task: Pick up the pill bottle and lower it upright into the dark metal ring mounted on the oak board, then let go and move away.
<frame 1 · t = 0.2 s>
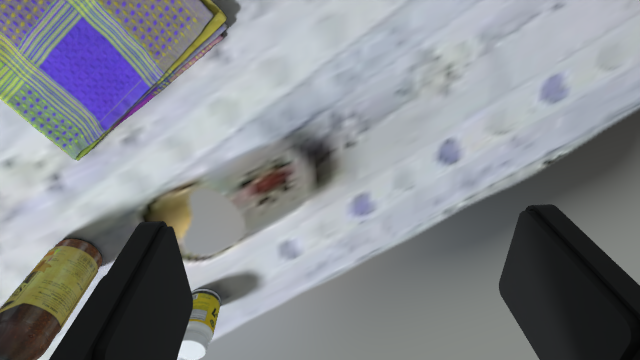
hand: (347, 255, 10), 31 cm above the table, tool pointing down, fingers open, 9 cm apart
dish towel: (84, 27, 36), on the table
supplement bottle: (205, 298, 54), on the table
sauce bottle: (80, 254, 49), on the table
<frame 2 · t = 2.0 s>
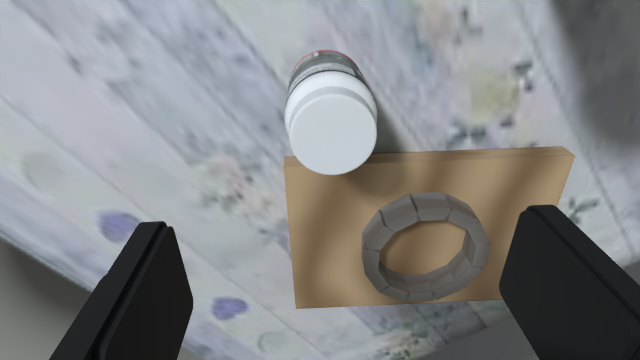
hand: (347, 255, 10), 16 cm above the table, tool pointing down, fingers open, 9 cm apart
ring jig: (414, 229, 30), on the table
pill bottle: (325, 85, 24), on the table
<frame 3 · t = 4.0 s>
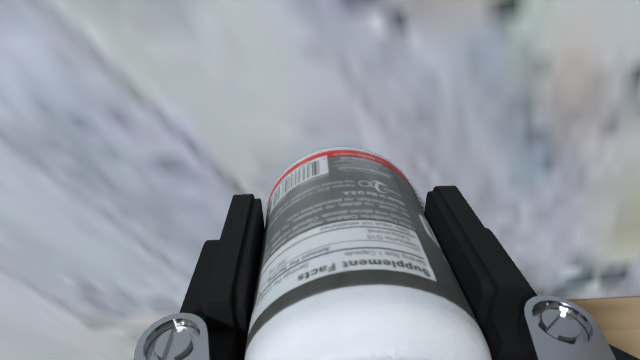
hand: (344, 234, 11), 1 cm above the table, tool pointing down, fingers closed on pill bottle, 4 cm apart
pill bottle: (339, 204, 12), on the table, touching gripper
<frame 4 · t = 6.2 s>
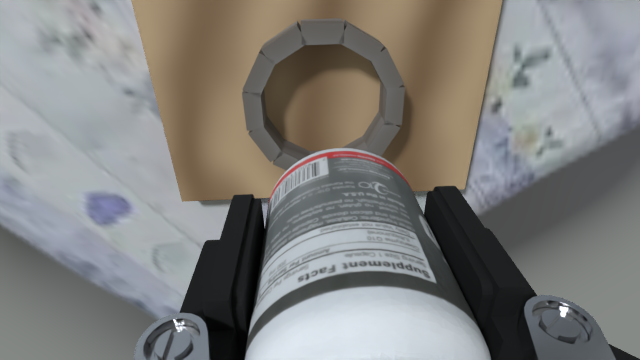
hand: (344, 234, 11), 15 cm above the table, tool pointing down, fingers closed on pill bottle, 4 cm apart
ring jig: (321, 91, 24), on the table
pill bottle: (339, 204, 12), point 13 cm above the table, touching gripper
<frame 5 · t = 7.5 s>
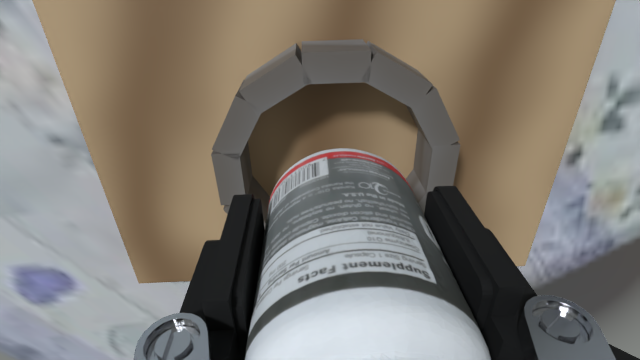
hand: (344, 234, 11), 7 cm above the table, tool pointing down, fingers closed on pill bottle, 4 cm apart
ring jig: (330, 138, 17), on the table
pill bottle: (339, 205, 12), point 5 cm above the table, touching gripper
when the fingers open (4 cm above the table, at t = 8.4 s): pill bottle drops 1 cm, resting on ring jig.
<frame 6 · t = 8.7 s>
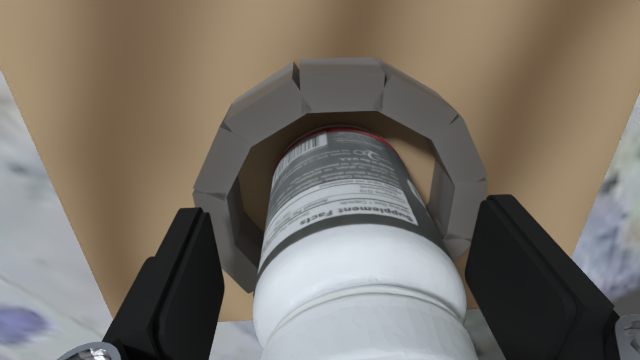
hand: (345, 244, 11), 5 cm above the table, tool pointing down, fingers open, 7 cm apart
ring jig: (333, 165, 15), on the table
pill bottle: (337, 179, 14), point 1 cm above the table, touching ring jig
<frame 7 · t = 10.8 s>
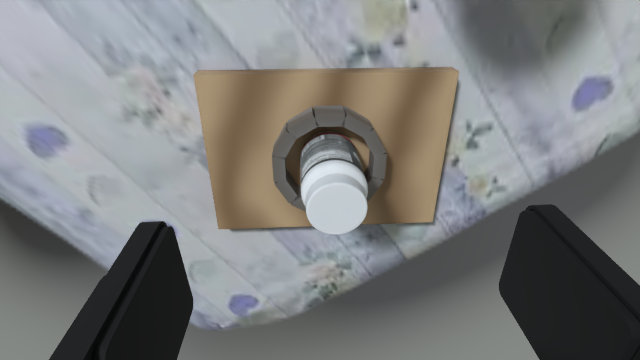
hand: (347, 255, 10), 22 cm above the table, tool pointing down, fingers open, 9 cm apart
ring jig: (326, 150, 32), on the table
pill bottle: (328, 155, 31), point 1 cm above the table, touching ring jig
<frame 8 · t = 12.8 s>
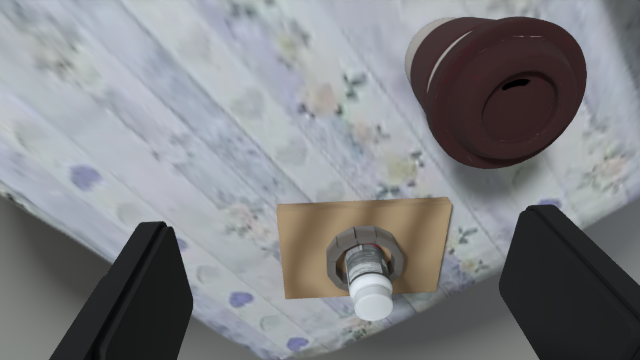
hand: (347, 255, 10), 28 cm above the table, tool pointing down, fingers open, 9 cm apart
ring jig: (361, 247, 47), on the table
coffee cup: (440, 57, 36), on the table
pill bottle: (363, 253, 46), point 1 cm above the table, touching ring jig
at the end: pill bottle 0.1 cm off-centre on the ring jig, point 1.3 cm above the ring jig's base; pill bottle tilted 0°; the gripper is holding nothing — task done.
